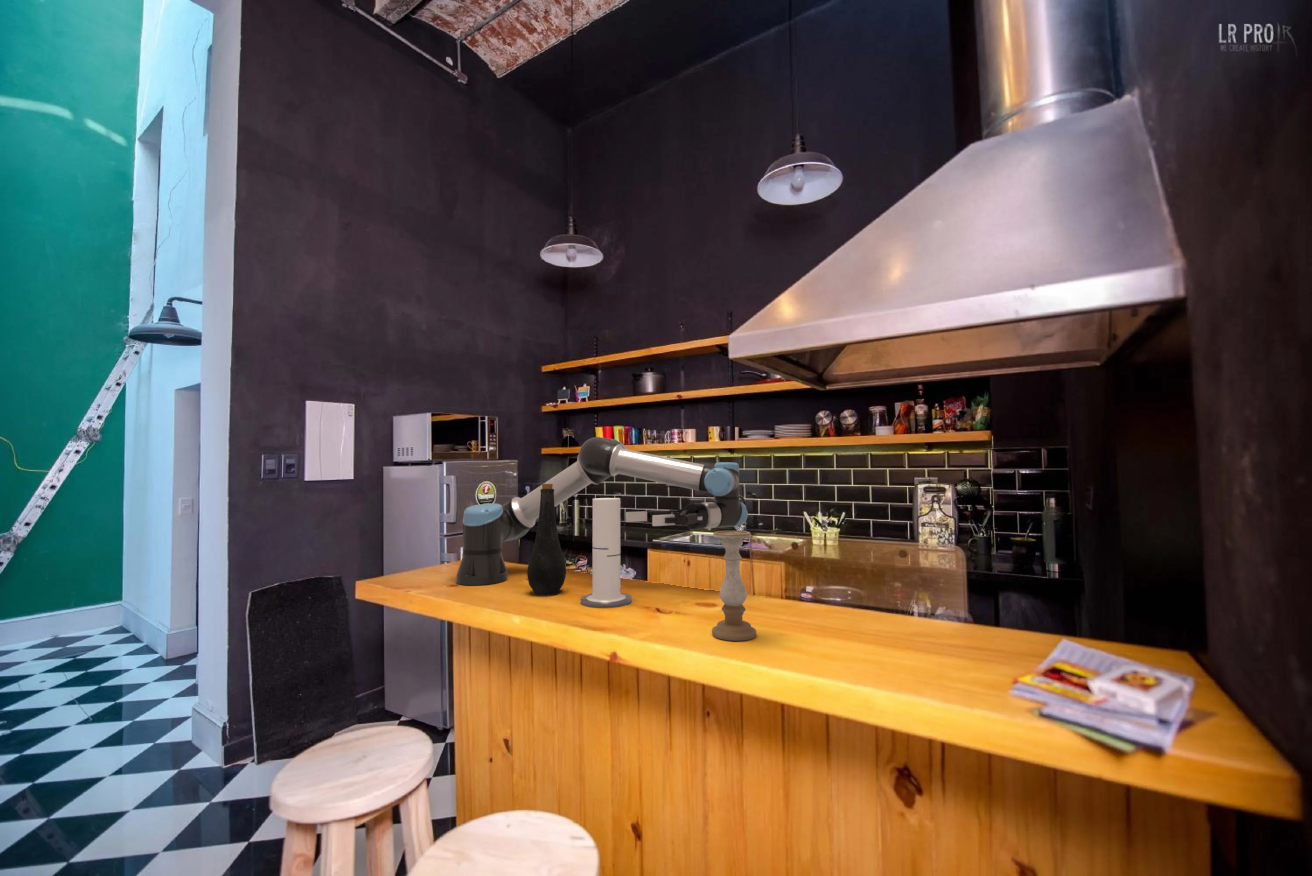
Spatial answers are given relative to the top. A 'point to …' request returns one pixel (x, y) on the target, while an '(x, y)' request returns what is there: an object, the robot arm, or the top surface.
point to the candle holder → (733, 591)
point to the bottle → (546, 550)
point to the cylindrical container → (606, 549)
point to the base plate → (606, 601)
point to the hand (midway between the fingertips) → (639, 518)
